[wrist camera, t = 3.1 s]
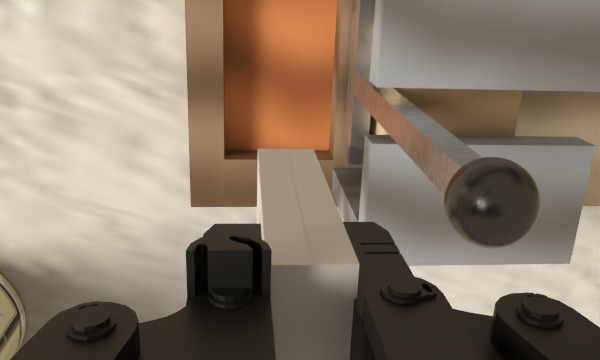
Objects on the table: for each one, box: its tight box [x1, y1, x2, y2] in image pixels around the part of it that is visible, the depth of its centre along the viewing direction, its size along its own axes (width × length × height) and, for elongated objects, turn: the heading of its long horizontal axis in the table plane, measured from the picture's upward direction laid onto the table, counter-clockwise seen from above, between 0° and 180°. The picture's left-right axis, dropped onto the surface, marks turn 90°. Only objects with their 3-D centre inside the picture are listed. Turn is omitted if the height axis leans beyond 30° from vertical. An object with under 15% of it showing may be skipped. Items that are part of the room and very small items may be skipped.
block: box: [369, 88, 522, 136], centre depth 30 cm, size 6×6×6 cm
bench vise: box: [185, 0, 600, 266], centre depth 30 cm, size 16×27×12 cm, turn 88°
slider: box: [343, 0, 541, 249], centre depth 24 cm, size 9×10×20 cm
